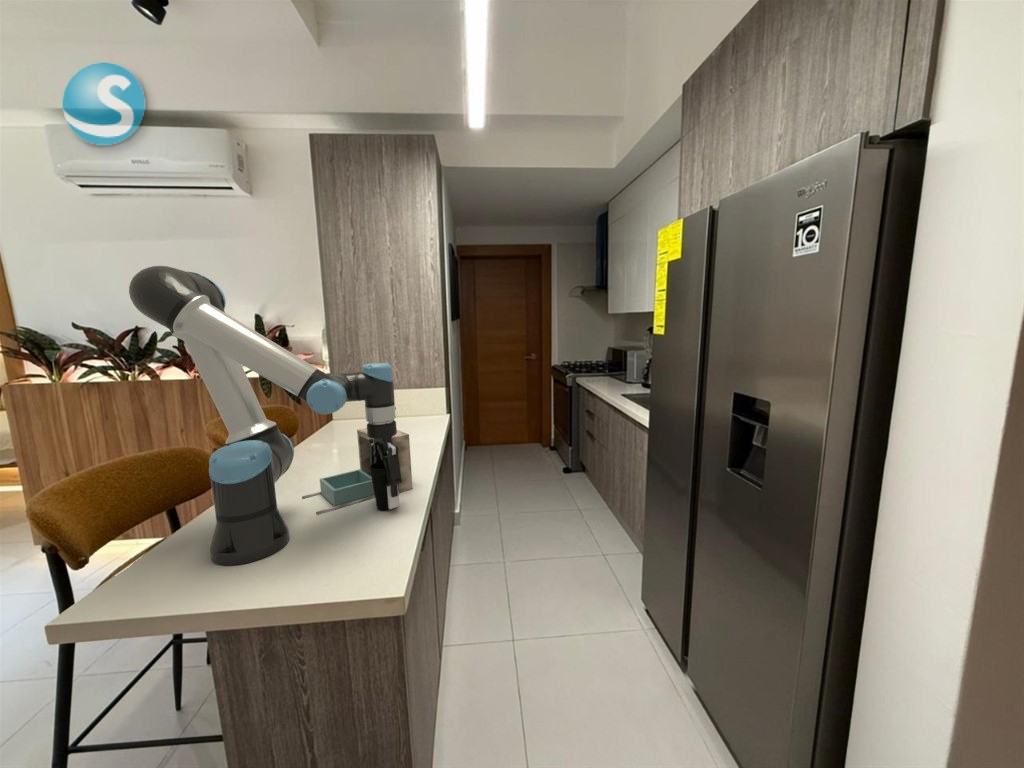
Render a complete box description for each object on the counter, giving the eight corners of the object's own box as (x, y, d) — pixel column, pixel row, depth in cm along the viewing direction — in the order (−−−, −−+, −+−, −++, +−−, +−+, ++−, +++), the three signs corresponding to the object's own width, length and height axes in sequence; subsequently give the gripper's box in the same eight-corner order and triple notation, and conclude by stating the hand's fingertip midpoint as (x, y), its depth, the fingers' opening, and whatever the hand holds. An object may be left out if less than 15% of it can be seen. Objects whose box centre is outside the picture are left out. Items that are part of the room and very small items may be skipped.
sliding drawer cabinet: (318, 516, 110) (312, 454, 108) (300, 496, 124) (295, 440, 121) (412, 488, 127) (409, 434, 125) (387, 474, 141) (384, 424, 138)
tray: (335, 507, 115) (333, 491, 114) (321, 494, 125) (319, 478, 124) (377, 495, 123) (376, 479, 122) (361, 483, 132) (359, 469, 132)
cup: (393, 513, 110) (390, 470, 109) (367, 512, 112) (364, 468, 110) (406, 501, 118) (404, 460, 116) (382, 500, 119) (378, 459, 118)
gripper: (412, 425, 106) (417, 510, 109) (379, 413, 122) (385, 488, 125) (383, 430, 101) (390, 519, 104) (353, 417, 117) (360, 495, 120)
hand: (387, 502), depth 114 cm, fingers closed on cup, 8 cm apart
